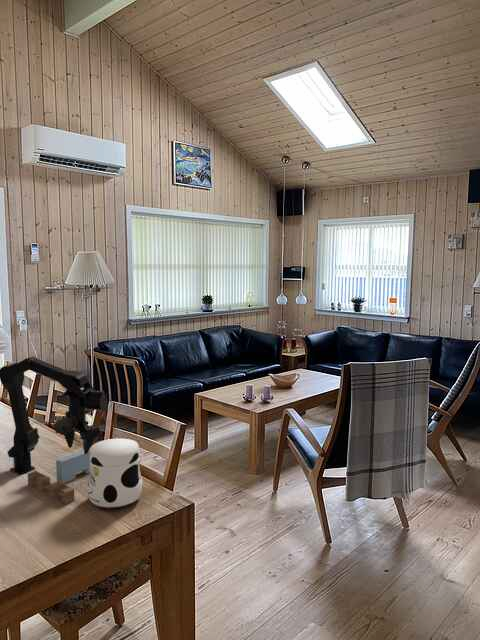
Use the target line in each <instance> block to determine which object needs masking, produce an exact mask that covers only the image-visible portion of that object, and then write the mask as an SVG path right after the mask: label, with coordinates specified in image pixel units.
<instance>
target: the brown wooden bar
mask: <svg viewBox="0 0 480 640" xmlns="http://www.w3.org/2000/svg"><path fill="white" fill-rule="evenodd" d="M27 486H30V487H32V488H33V489H35V490H37V491H38V492H39V491H40V492H42V493H44V494H45V495H47V496H49V497H51V498H53V499H55V500H57V501H59V502H61V503H62V504H65V505H69V504H70V503H73V502H75V488H73V487H71V486H69V485H66V483H60V482H57V481H56V482H54V483H51V477H50V476H47V475H45V474H44V473H41V472H39V471H37V470H35V471H32V472H28V473H27Z"/></svg>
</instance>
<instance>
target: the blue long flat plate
mask: <svg viewBox="0 0 480 640" xmlns="http://www.w3.org/2000/svg"><path fill="white" fill-rule="evenodd" d="M90 449H91V447H90ZM90 449H89V451H88V453H87V454H84V449H82V450H80V451H78V452H74V453H72V454H68V455H65V456H63V457H60V458H58V459H55V463H56V464H55V467H56V482H60V483H63V484H66V483H69V482H71V481H73V480H76V474H77V473H79V472H83V473H85V474H90Z"/></svg>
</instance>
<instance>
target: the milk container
mask: <svg viewBox="0 0 480 640" xmlns="http://www.w3.org/2000/svg"><path fill="white" fill-rule="evenodd" d="M139 447H140V446H139V443H138V442H137V441H135V440H133V439H129V438H110V439H104V440H100V441H98V442H95V443H94V444H92V445H91V447H90V448H91V449H90V473H89V479H88V482H87V495H88V499H89V501H90V503H92V505H94V506H97V507H98V508H101V509H121V508H124V507H127V506H129V505H132V504H133V503H135V502H136V501H138V500H139V498H140V497H141V495H142V493H143V487H144V486H143V485H144V483H143V477H142V475H141V474H142V473H141V469H140V464H141V463H140V461H141V457H140V448H139Z"/></svg>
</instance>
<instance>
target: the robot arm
mask: <svg viewBox="0 0 480 640" xmlns="http://www.w3.org/2000/svg"><path fill="white" fill-rule="evenodd" d="M27 371H31V372H33V373H37V374H39V375H41V376H44V377H46V378H49V379H50V380H53V381H56V382H58V384H60V386H61V387H62V388H64V389H66V390H65V391H64V393H62V395H61V396H62V397H67V401H68V410H67V411H65V416H64V417H62V418H60V419H59V418H58V419H57V420H56V421H55V423H53V425H52V426H53V428H54V431H55V434H59V435H61V436H64V438H65V441H66V443H67V447H68V448H69V449H71V448H73V446H74V445H73V444H74V439H75V434H76V431H79V436H80V437H79V439H80V440H81V441H82V445H83V446H82V447H83V450H84V454H87V453H88V451H89V449H90V448H91V447H92V446H93V443H94V441H95V439H96V438H97V437H99V436H100V435H101V428H100V427H99V426H96V425H93V424H91V425H89V421H87V417H86V415H87V414H89V410H90V411H102V412H103V411H105V410H106V409H107V405H108V397H107V396H106V393H105V390H95V389H94V387H93V386H92V384H91V383H90V381H89V380H88V377H87V375H86V373H84V372H82V371H79V370H78V371H77V370H72V369H71V370H68V369H64V368H62V367H59V366H56V365H54V364H51V363H49V362H46V361H44V360H41V359H39V358H37V357H35V356H29V357H27V358H24V359H23V360H21V361H19V362H14V363H11V364H8V365H4V366H2V367H1V368H0V383H1V385H2V386H3V387H4V389H6V390H7V394H8V398H9V404H10V407H11V413H12V417H13V421H14V427H15V429H14V435H13V439H12V440H13V446H11V448H9V450H8V451H7V456H8V457H9V458H11V459H13V467H11V468H9V470H10V472H13V473H15V474H17V475H21V474H25V473H28V472H30V471H32V470H36V467H35V466H34V465H32V457H31V456H32V455H31V454H32V453H31V452H32V451H34V450H35V448H36V446H37V445H38V443H39V439H40V438H41V436H39V431H38V430H39V429H38V427H35V428H34V427H33V426H32V425H31V424H30V418H29V413H28V409H27V403H26V398H25V394H24V390H23V384H24V380H25V372H27Z"/></svg>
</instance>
